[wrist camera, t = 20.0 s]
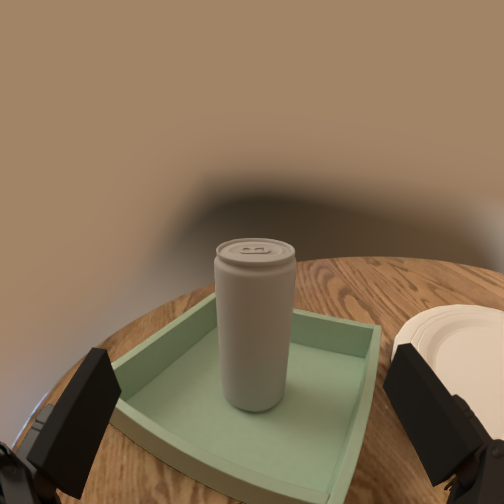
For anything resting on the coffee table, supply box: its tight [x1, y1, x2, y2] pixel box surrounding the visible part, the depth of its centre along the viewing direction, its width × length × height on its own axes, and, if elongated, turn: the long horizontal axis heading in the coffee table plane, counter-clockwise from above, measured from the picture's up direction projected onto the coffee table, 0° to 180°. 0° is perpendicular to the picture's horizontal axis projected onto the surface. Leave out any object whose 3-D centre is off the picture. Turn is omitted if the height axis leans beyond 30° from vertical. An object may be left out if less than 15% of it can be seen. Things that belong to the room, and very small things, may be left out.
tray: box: [109, 291, 382, 504], centre depth 19 cm, size 18×18×4 cm
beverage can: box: [214, 238, 297, 412], centre depth 18 cm, size 5×5×12 cm
